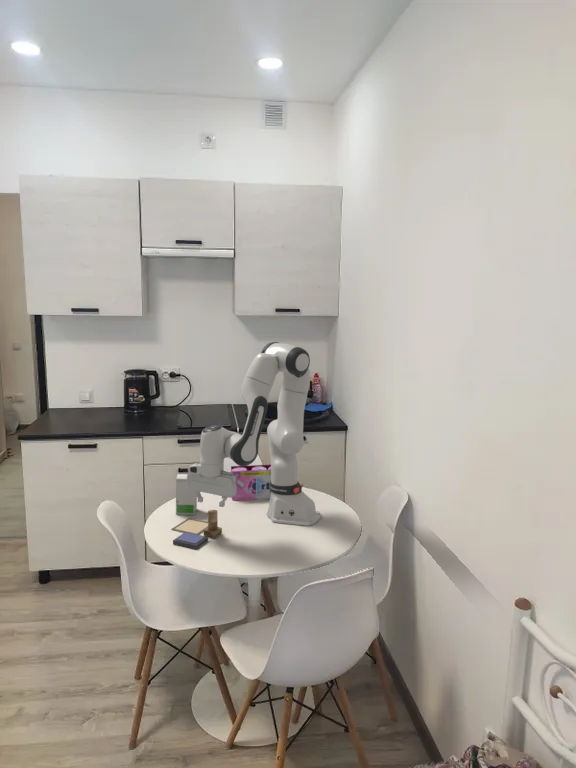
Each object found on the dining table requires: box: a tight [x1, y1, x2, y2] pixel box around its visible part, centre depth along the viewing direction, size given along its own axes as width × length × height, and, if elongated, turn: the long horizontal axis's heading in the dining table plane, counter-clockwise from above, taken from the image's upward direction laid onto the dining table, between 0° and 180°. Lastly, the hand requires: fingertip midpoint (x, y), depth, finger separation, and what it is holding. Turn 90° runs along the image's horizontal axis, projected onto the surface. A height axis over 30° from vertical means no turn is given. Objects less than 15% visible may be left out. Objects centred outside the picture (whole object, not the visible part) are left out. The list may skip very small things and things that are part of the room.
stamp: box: [203, 509, 223, 540], centre depth 218 cm, size 5×5×10 cm
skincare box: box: [175, 473, 198, 515], centre depth 240 cm, size 8×7×16 cm
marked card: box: [170, 517, 208, 535], centre depth 226 cm, size 12×12×1 cm
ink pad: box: [172, 532, 209, 550], centre depth 212 cm, size 10×8×2 cm
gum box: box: [230, 463, 271, 501], centre depth 259 cm, size 24×8×14 cm, turn 99°
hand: (211, 504), depth 216 cm, fingers open, 8 cm apart
